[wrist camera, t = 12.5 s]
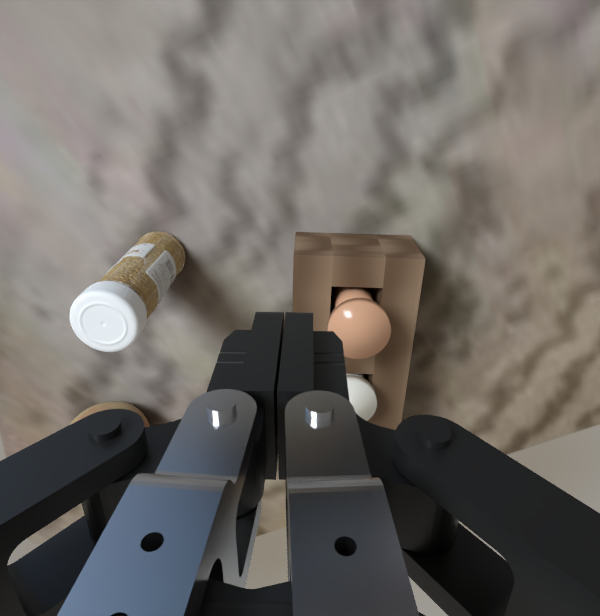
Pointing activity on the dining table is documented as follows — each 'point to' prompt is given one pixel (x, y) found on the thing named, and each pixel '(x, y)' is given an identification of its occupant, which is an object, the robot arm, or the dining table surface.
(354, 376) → the cream plug
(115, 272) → the sprinkles bottle
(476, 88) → the dining table surface
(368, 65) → the dining table surface
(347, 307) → the terracotta plug
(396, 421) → the walnut block
